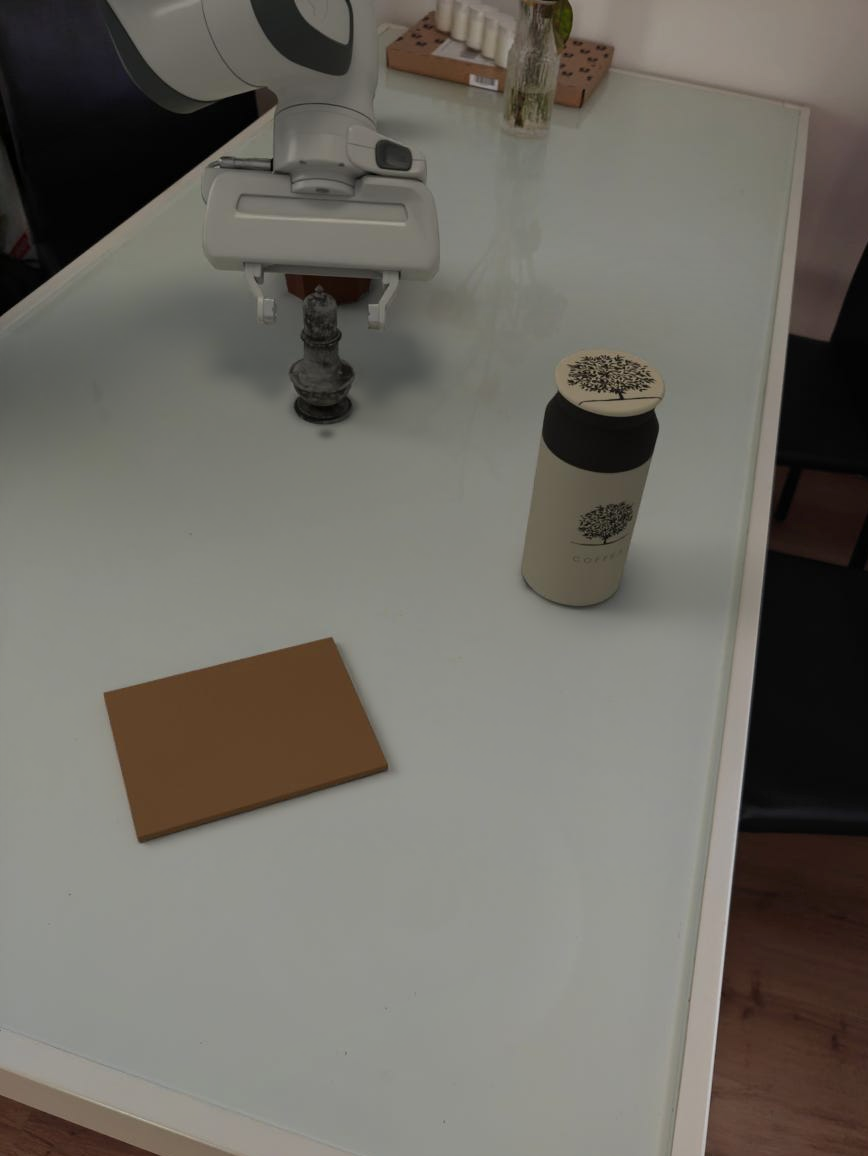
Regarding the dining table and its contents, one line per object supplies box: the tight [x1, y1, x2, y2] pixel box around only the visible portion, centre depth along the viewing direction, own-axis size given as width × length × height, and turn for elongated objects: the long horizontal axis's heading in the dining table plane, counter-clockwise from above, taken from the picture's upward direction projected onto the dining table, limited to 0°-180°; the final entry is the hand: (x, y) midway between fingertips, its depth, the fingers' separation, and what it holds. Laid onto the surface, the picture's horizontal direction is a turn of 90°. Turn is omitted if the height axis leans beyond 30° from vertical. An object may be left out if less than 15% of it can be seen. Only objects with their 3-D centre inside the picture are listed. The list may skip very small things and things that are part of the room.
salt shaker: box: [288, 285, 356, 425], centre depth 89 cm, size 6×6×12 cm
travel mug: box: [520, 348, 666, 607], centre depth 75 cm, size 8×8×18 cm
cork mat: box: [103, 636, 389, 843], centre depth 68 cm, size 16×12×1 cm
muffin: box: [284, 274, 373, 306], centre depth 105 cm, size 12×11×10 cm
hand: (321, 325), depth 89 cm, fingers open, 8 cm apart
